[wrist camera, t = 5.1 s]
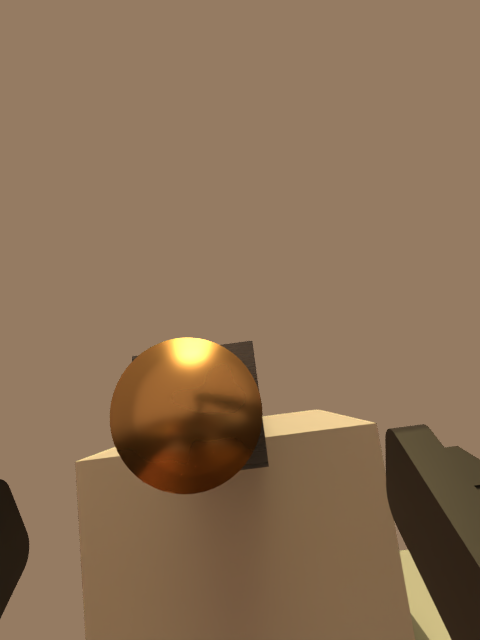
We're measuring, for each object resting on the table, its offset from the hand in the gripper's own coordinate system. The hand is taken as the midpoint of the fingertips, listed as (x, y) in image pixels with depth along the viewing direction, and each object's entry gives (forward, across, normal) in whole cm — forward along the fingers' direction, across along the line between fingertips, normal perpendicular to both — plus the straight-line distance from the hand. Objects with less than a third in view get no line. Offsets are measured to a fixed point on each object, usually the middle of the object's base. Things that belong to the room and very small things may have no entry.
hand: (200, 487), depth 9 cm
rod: (+10, 0, +6) cm, 12 cm away
